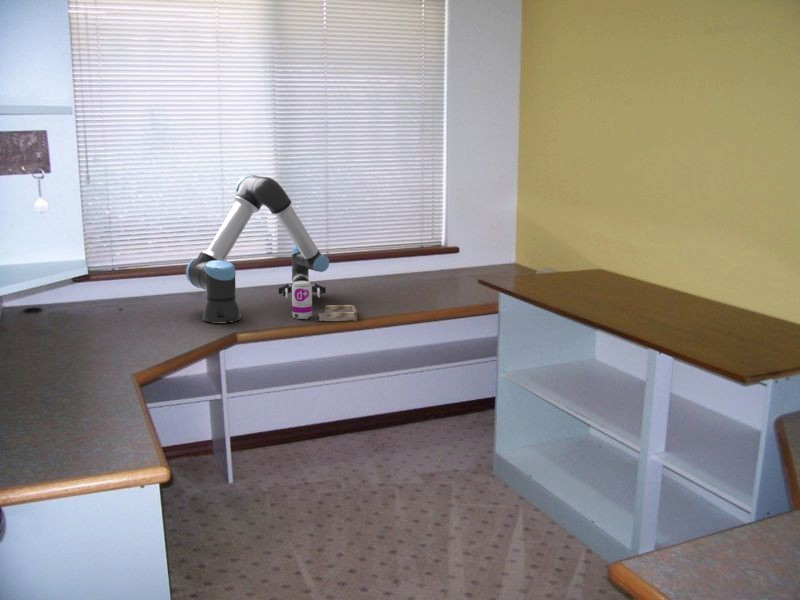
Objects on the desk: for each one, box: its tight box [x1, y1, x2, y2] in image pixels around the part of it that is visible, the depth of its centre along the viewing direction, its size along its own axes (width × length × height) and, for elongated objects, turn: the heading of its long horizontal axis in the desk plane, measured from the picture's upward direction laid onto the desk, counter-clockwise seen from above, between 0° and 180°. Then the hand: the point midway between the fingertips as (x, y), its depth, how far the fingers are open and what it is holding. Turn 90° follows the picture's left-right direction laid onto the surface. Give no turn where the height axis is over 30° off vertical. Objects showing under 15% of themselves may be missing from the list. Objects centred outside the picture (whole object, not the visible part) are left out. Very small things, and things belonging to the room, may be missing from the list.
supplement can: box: [291, 280, 313, 318], centre depth 311 cm, size 8×8×15 cm
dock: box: [324, 304, 358, 318], centre depth 315 cm, size 16×15×3 cm
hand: (302, 294), depth 317 cm, fingers open, 13 cm apart
